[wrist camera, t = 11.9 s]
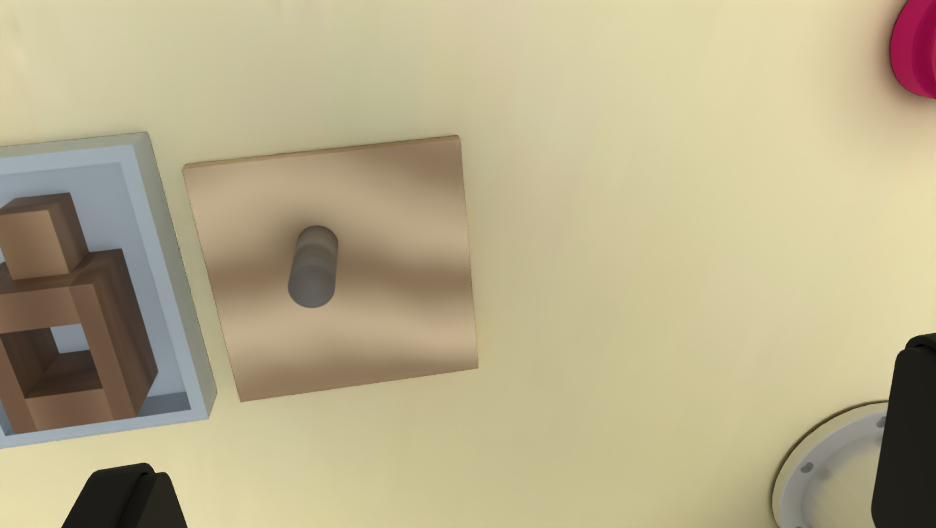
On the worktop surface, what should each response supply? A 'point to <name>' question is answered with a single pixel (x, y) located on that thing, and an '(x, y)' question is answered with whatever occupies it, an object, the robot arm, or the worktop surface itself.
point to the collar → (66, 322)
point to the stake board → (338, 264)
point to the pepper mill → (916, 47)
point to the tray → (148, 260)
